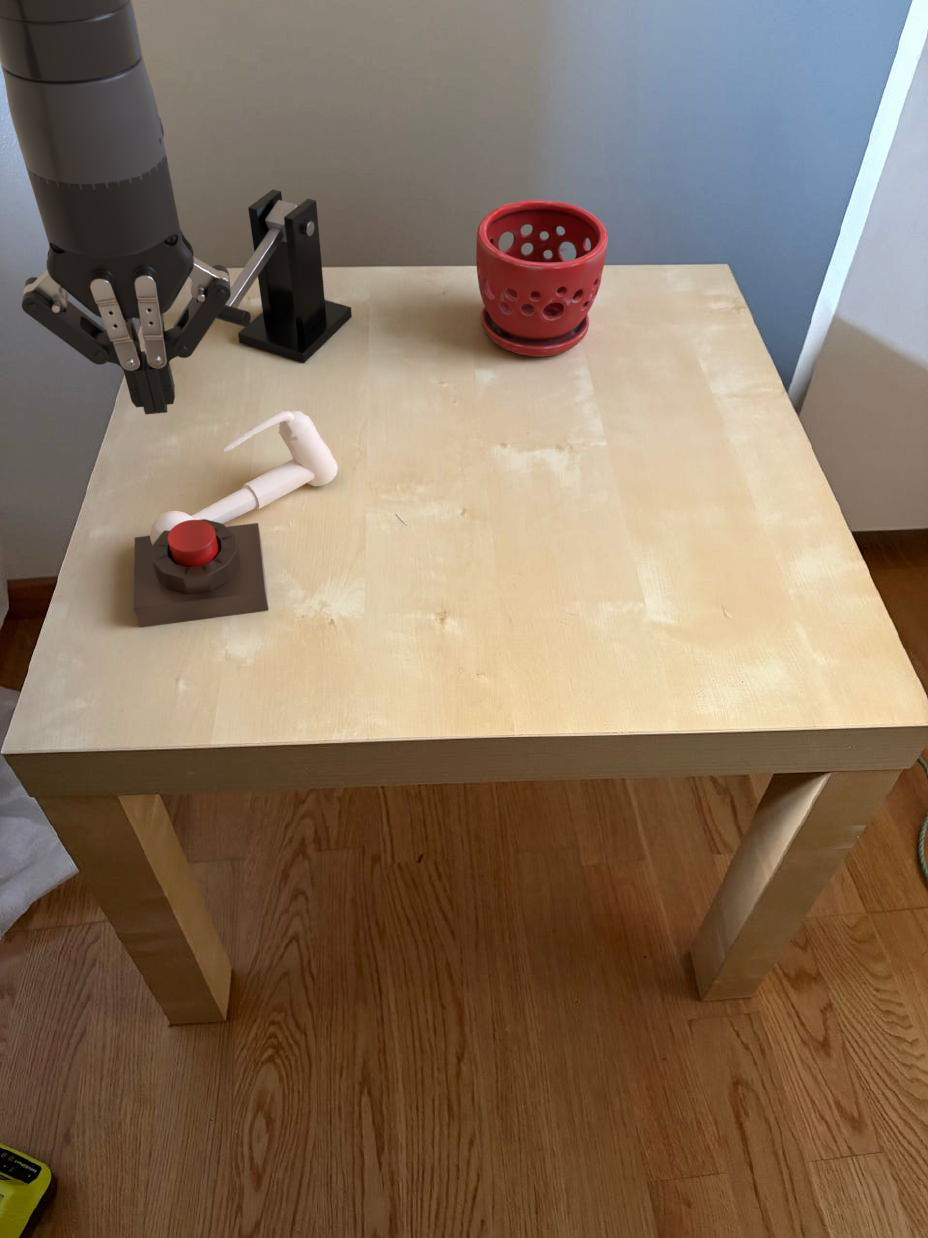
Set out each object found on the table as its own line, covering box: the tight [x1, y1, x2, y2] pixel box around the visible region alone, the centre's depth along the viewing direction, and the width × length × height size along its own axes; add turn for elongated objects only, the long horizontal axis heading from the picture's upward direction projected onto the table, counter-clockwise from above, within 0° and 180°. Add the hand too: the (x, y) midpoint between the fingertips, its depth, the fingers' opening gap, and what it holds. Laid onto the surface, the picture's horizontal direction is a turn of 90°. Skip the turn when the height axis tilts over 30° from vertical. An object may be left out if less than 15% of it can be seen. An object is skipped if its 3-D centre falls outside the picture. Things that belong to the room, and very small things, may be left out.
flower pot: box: [475, 199, 609, 357], centre depth 100 cm, size 13×13×12 cm
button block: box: [132, 519, 269, 628], centre depth 77 cm, size 10×8×4 cm
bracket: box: [237, 188, 353, 364], centre depth 98 cm, size 10×8×14 cm
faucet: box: [149, 410, 339, 545], centre depth 81 cm, size 4×18×10 cm, turn 134°
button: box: [168, 520, 218, 567], centre depth 75 cm, size 4×4×2 cm
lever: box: [216, 200, 299, 328], centre depth 93 cm, size 14×5×2 cm, turn 155°
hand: (156, 406), depth 66 cm, fingers closed
